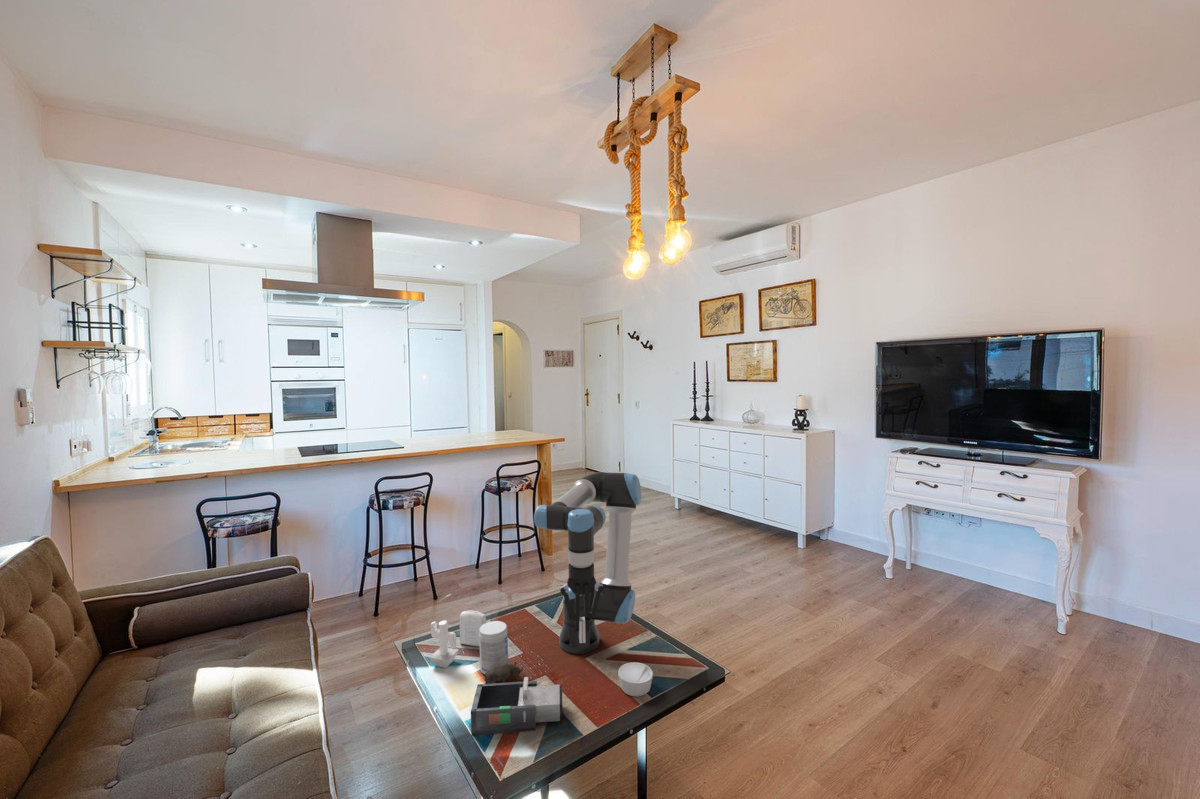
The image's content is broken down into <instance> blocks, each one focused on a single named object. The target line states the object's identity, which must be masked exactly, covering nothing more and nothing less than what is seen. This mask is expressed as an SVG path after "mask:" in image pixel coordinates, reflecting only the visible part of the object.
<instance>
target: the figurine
mask: <svg viewBox="0 0 1200 799" xmlns="http://www.w3.org/2000/svg"><path fill="white" fill-rule="evenodd" d="M437 624H438V625H437ZM437 626H438V627H437ZM430 633H431V634H430V635H431V637H432V639H438V640H439V647H438V649H436V651H435V652H433V653H432V654H431V655H430V656H429V657H428V658H429V659H430V661H431V662H432V664H433V665H434V666H435V667H440V668H444V669H446V668H448V667H449V666H451V664H452V663H453V662H454V660H455V658H456V656H457V654H458V652H459V649H460V648H457V634H456V633H455V632H453V631H449V625H448V620H446V619H444V620H443V619H442V620H441V621H439V623H437V621H432V622H431V623H430ZM449 642H450V647H449Z"/></svg>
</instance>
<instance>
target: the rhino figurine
mask: <svg viewBox="0 0 1200 799" xmlns="http://www.w3.org/2000/svg"><path fill="white" fill-rule="evenodd" d="M523 670H524V666H523V667H522V668H520V666H519V665H518V666H517V661H515V662H514V664H510V663H508V664H506V665H503V666H501V667H497V668H490V669H488V670H487V671H486V672H485V674H484V681H485V683H484V684H493V682H499V681H501V680H502V682H501V683H507V679H508V678H509V676H510V675H512V676H515V677H518V676H520V674H521V673H522V671H523Z"/></svg>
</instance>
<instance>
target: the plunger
mask: <svg viewBox="0 0 1200 799" xmlns="http://www.w3.org/2000/svg"><path fill="white" fill-rule="evenodd" d="M528 681H529V676H524V677H523V682H524V684H523V687H520V693H519V701H518V706H524V705H535V720H536V723H546V722H547V723H548V722H560V721H561V720H563V718H564V714H563V712H564V711H563V709H564V708H563V685H560V684H547V685H537V686H528Z"/></svg>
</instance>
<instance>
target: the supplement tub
mask: <svg viewBox="0 0 1200 799" xmlns="http://www.w3.org/2000/svg"><path fill="white" fill-rule="evenodd" d="M508 640H509V639H508V625H507V624H506V623H505V622H504V621H500V620H492V621H488V622H486V623H485V624H483V625H482V626H481V627H480V629H479V645H480V646H479V661H480V662H479V665H480V666H479V668H480V672H481V673H482V674H483V675H485V672H486V671H487V670H488V669H490V668H497V667H501V666H503V665H506V664H509V641H508Z"/></svg>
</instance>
